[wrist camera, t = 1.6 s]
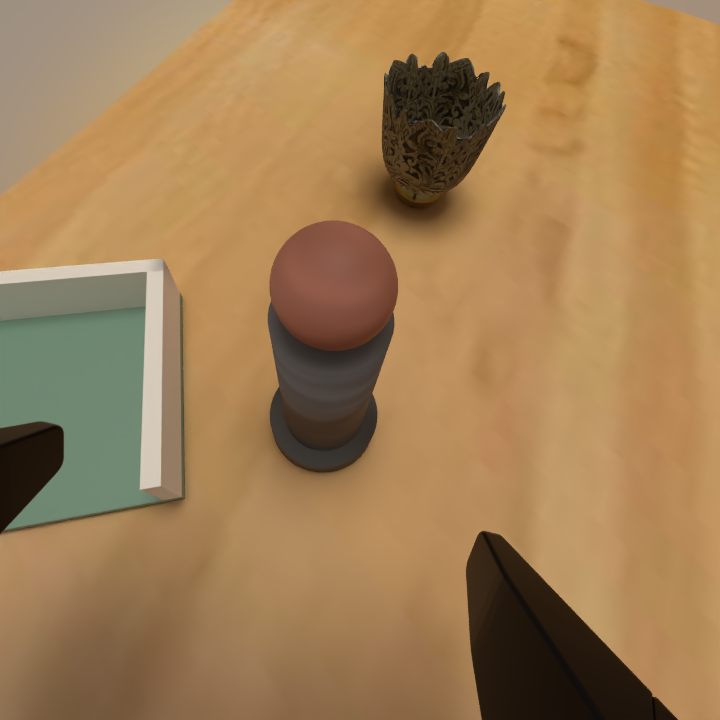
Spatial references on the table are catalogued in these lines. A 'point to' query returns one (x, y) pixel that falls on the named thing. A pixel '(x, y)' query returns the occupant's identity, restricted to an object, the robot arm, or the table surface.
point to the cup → (435, 125)
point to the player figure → (329, 341)
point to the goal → (97, 382)
